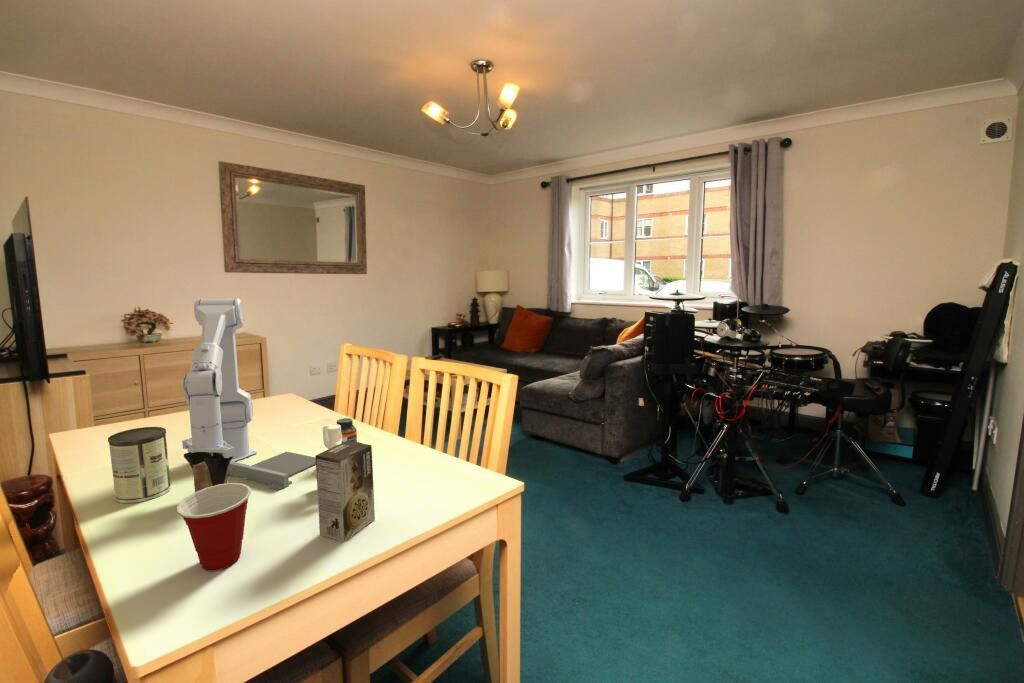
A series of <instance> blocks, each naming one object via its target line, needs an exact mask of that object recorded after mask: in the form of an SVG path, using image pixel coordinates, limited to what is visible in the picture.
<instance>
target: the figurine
mask: <svg viewBox="0 0 1024 683" xmlns="http://www.w3.org/2000/svg"><path fill="white" fill-rule="evenodd" d="M322 438H323V445H324V446H325V448H326V449H327V450H328V449H330V448H333V447H335V446H337V445H339V444H341V443H342V442H341V441H342V433H341V425H338V424H337V423H336V424H335V425H333V424H330V423H329V424H325V425H323V427H322ZM314 473H315V475H316V476H317V473H316V472H314Z"/></svg>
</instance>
